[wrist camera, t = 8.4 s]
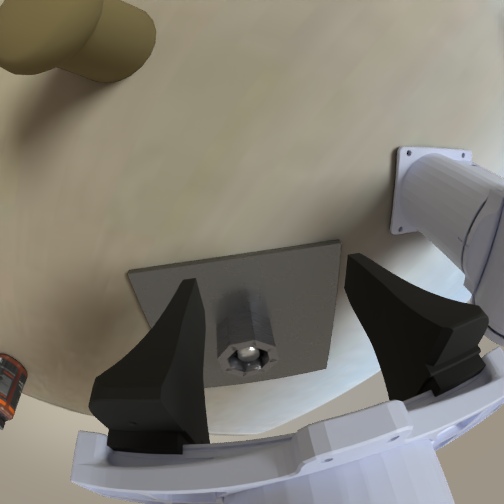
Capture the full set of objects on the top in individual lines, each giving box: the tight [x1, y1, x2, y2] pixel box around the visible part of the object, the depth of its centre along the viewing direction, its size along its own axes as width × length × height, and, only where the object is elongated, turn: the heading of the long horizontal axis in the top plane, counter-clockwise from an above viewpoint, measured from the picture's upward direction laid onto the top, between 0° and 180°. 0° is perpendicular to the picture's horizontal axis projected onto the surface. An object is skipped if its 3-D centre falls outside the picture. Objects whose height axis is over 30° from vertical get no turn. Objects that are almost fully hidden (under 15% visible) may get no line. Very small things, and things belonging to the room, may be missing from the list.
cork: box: [0, 0, 156, 83], centre depth 9 cm, size 6×6×11 cm
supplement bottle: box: [0, 354, 27, 430], centre depth 24 cm, size 6×6×11 cm
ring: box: [216, 312, 279, 377], centre depth 26 cm, size 5×5×4 cm
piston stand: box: [128, 240, 341, 388], centre depth 27 cm, size 18×18×3 cm
